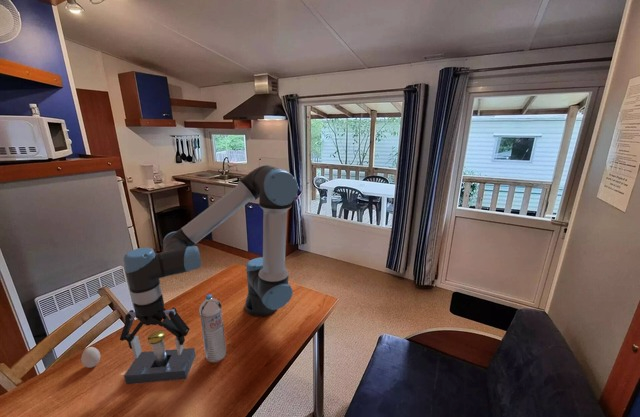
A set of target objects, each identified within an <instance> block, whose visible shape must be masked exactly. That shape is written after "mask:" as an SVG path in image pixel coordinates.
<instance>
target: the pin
mask: <svg viewBox="0 0 640 417" xmlns="http://www.w3.org/2000/svg"><path fill="white" fill-rule="evenodd" d="M165 337H166V334H165V331H164V330H161V329H160V330H154V331H153V332H151V333H150V334H149V335H148V336H147V341H148V344H150V345H151V347H152V351H153V352H154V357H155V361H156V366H157V367H166V365H167V363H168V360H167V356H166V351H165V350H166V346H165V342H164V339H165Z"/></svg>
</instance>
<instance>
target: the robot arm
mask: <svg viewBox="0 0 640 417" xmlns="http://www.w3.org/2000/svg"><path fill="white" fill-rule="evenodd" d="M298 190H299V185H298V182H297V180H296V178H295V177H294V175H293V174H292V173H290V172H288V171H287V170H285V169H283V168H278V167H275V166H273V165H267V164H265V165H261V166H258V167H257V168H255V169H253V170H252V171H250V172H248V173H247V174H246V175H245V176H244V177H242V178H241V179H239V180H238V182H237V185H236V186H235V187H234V188H232V189H231V190H229V191H228V192H227V193H226V194H224V195H223V196H221V197H220V198H219V199H218V200H216V202H214V203H212V204H211V205H210V206H208V207H207V208H206V209H204V210H203V211H202V212H200V213H199V214H198V215H197V216H195V217H194V218H193V219H192V220H190V221H189V222H187V224H185V225H184V226H182V227H181V228H180V229H178V230H176V231H171V232H169V233H167V234H166V235H165V236H164V238H163V243H162V248H163V252H158V253H156V252H155V251H154V249H153V248H151V247H139V248H136V249H132V250H130V251H128V252H127V253H126V254H125V255H124V256H123V264H124V272H125V275H126V276H125V277H126V279H127V284H128V287H129V291H130V292H129V293H130V296H131V300H132V303H133V308H134V310H133V309H130V310H129V311H128V312H127V313H126V315H125V317H124V319H125V320H124V321H125V322H124V325H123V328H122V331H121V333H120V337H119V340H120V341H122V342H123V341H126V342H127V343H128V348H129V349H132V354H133V357H134V360H135V359H136V358H138V356H139V355H140V353H141V352H143V351H142V347H141V342H140V339H139V335H137V333H138V332H139V331H140V330H141V328H142V327H143V326H144V325H145V326H151V325H152V326H159V327H161V328H162V327H163V328H164V329H165V330H166V331H168V332H169V333H171V334H172V335H173V336H175V338H174V341H175V347H176V349H177V353H178V355H181V353H182V351H183V349H184V343H185V341H186V340H185V337H187V335H188V333H189V332H190V328H189V326H188V325H187V323H185V321H184V320H183V318H182V317H181V316H180V315H179V314H178V312H177V308H176V307H172V308H171V309H166V308H165V302H164V301H165V300H164V296H163V294H162V293H163V292H162V291H163V290H162V286H161V281H160V279H162V278H166V277H170V276H175V275H179V274H183V273H187V272H188V273H189V272H191V271H194V270H197V269H198V270H199V268H201V265H202V259H201V254H200V250H199V247H198V246H196V245H197V243H199V242H200V241H202V239H204V238H205V237H206V236H208V235H209V234H211V232H213V231H214V230H215V229H216V228H218V227H219V226H220V225H221V224H223V223H224V222H225V221H227V220H228V219H229V218H231V217H232V216H233V215H234V214H235V213H237V212H238V211H239V210H241V209H242V208H243V207H244V206H246V205H247V204H248V203H250V202H251V201H254V202H255V201H256V200H259V202H258V206H259V207H260V208H261V209H262V210H263V211H262V212H263V217H262V218H263V219H262V220H263V222H262V226H263V227H262V257H261V256H260V257H256V258H253V259H251V260H249V261H248V262H247V264H246V269H245V271H246V280H247V292H248V293H247V295H246V300H245V303H244V305H245V306H244V308H245V312H246V313H247V314H248V315H251V316H252V317H260V318H261V317H266V316H270V315H271V314H273V313H274V312H276V311H277V310H279V309H281V308H283V307H285V306H286V305H287V304H288V303H289V302H290V300H291V299H292V297H293V293H294V292H293V288H292V285H290V283H289V276H290V274H289V270H288V269H287V268H286V253H287V252H286V246H287V228H288V226H287V225H288V211H289V210H290V209H291V208H292V206H293V201H294V200H295V199H296V197H297V195H298ZM135 318H136V319H137V320H139V323H138V324H137V325H136V326H135V328H134V329H133V331H132V332H131V333H130V330H131V328H132V326H133V322H134V320H135Z"/></svg>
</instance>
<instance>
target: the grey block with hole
mask: <svg viewBox="0 0 640 417" xmlns="http://www.w3.org/2000/svg"><path fill="white" fill-rule="evenodd" d="M165 351H166V356H167V360H168V363H167V365H166V367H157V366H156V361H155V357H154V352H153V350H149V351H142V352H141V353H140V355H139V356H138V358H136V359H135V358H134V359H133V361H132V363H131V365H130V366H129V367H128V369H127V371H126V373H125V374H124V375H123V377H124V380H125V385H134V384H145V383H156V382H167V381H168V382H169V381H177V380H187V379H188V376H189V373H190V371H191V368H192V366H193V363H194V362H195V361H194V360H195V358H196V357H197V356H196V355H197V354H196V350H195V347H192V348H191V347H190V348H189V347H187V348H183V351H182V353H181V355H178V353H177V348H176V349H175V348H174V349H165Z"/></svg>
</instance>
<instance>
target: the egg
mask: <svg viewBox="0 0 640 417" xmlns="http://www.w3.org/2000/svg"><path fill="white" fill-rule="evenodd" d="M80 358H81V360H80V361H81V364H82V365H83V366H84V367H86V368H89V369H90V368H91V369H92V368H94V367H96V366H97V365H98V363H99V362H100V360H101V353H100V351H99V349H98V348H96V347H94V346H89V347H87V348H85V349H84V350H83V352H82V354H81V357H80Z"/></svg>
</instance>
